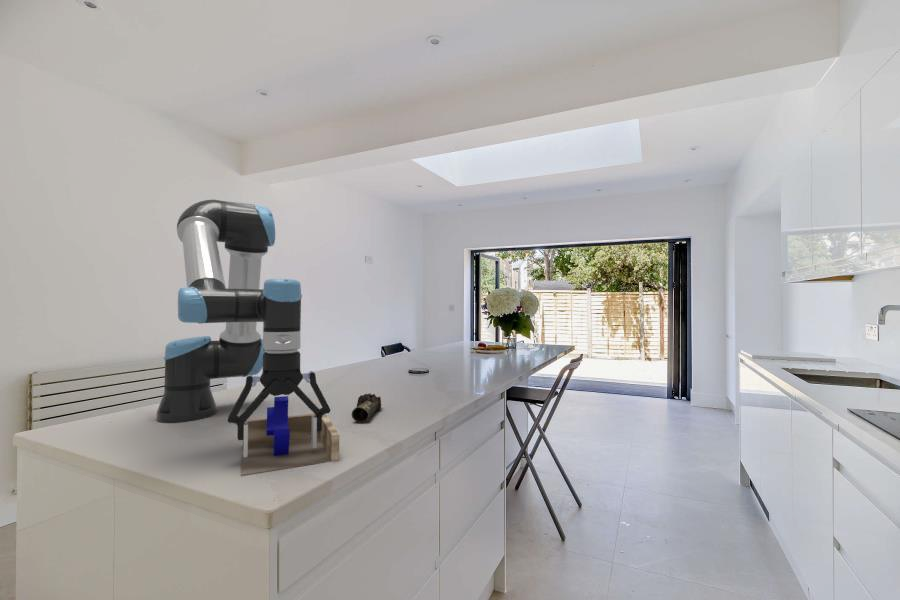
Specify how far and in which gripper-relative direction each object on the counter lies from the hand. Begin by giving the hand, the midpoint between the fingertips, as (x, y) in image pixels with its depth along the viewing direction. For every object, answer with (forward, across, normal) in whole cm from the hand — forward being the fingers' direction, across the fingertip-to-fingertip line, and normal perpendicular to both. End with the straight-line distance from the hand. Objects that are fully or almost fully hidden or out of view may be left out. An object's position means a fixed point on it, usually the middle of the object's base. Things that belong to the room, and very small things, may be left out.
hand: (280, 450), depth 91 cm
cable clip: (-1, 0, +7) cm, 7 cm away
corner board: (+2, +1, +2) cm, 3 cm away
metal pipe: (+5, +23, +21) cm, 31 cm away
